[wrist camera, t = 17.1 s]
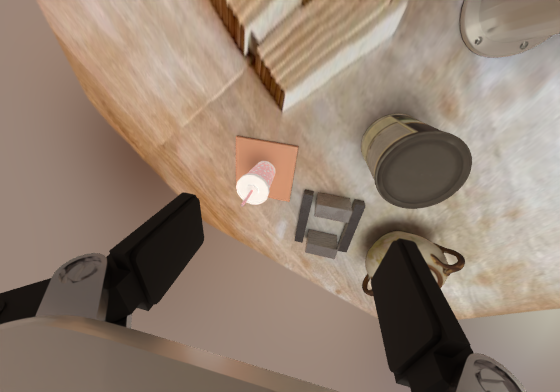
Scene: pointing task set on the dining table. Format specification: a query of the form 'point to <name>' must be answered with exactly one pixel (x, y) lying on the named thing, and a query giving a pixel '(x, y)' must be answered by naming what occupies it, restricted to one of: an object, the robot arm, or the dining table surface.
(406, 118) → the coffee can
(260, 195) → the beverage cup
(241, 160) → the terracotta tile
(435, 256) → the sugar bowl
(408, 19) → the dining table surface
